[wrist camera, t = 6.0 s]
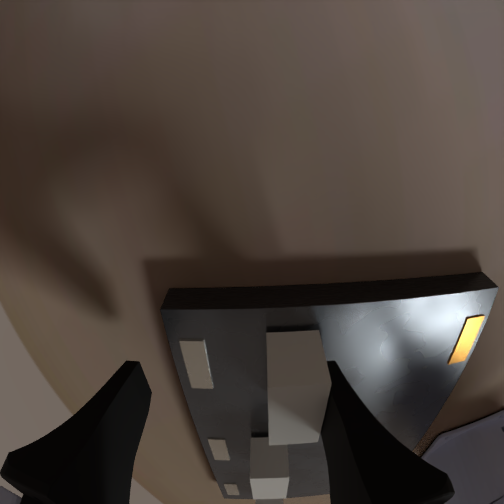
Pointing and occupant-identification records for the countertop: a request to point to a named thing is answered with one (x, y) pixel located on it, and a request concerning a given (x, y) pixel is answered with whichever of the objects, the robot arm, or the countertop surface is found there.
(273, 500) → the block
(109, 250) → the countertop surface
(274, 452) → the block
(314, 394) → the block
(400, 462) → the robot arm
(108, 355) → the countertop surface
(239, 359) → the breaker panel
